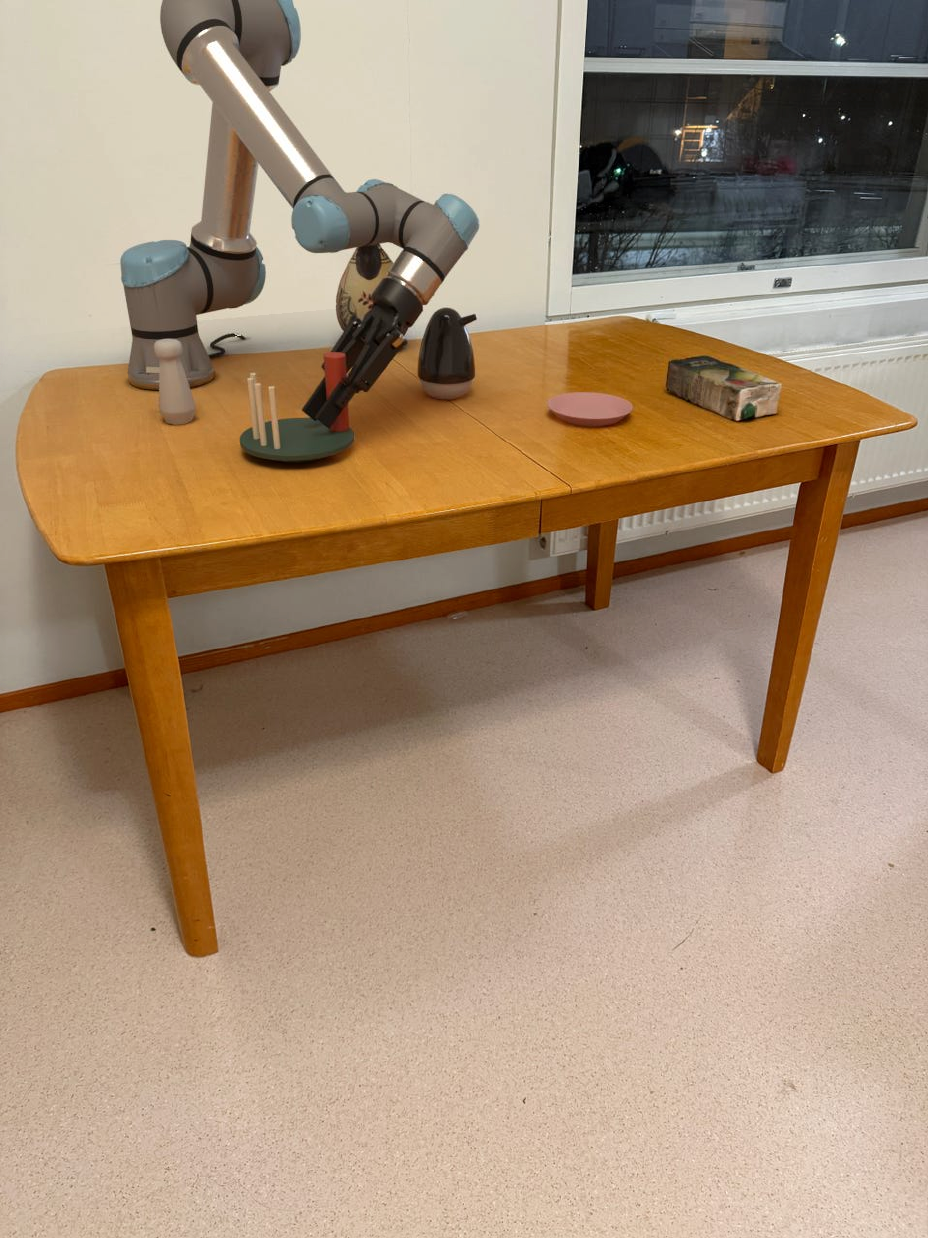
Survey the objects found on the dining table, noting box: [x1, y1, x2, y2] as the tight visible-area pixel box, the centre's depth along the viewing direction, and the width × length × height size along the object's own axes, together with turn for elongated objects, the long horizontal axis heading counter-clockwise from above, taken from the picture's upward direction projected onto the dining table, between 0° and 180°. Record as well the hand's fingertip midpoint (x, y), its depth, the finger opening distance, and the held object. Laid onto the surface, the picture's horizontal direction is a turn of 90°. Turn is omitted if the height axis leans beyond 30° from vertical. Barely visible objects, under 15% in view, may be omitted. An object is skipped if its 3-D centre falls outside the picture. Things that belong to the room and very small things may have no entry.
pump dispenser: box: [416, 307, 478, 401], centre depth 160 cm, size 10×10×15 cm
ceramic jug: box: [335, 244, 409, 341], centre depth 183 cm, size 17×15×30 cm
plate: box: [546, 391, 634, 427], centre depth 154 cm, size 14×14×2 cm
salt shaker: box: [154, 339, 197, 426], centre depth 147 cm, size 6×6×13 cm
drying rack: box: [239, 351, 355, 462], centre depth 135 cm, size 17×17×13 cm
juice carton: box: [665, 354, 783, 422], centre depth 160 cm, size 20×10×6 cm, turn 29°
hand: (315, 419), depth 138 cm, fingers open, 4 cm apart
